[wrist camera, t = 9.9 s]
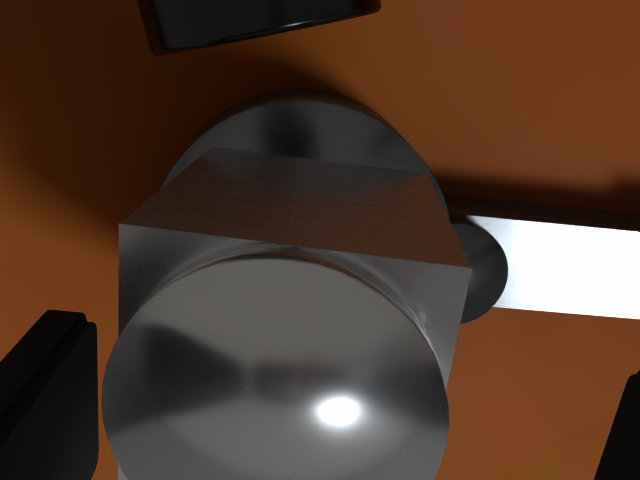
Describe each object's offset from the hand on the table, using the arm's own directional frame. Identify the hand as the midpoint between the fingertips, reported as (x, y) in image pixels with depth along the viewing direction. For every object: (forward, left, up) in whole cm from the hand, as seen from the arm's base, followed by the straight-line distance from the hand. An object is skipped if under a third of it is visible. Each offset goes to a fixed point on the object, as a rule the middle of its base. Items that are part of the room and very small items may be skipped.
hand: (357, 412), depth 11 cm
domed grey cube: (+1, 0, -8) cm, 8 cm away
